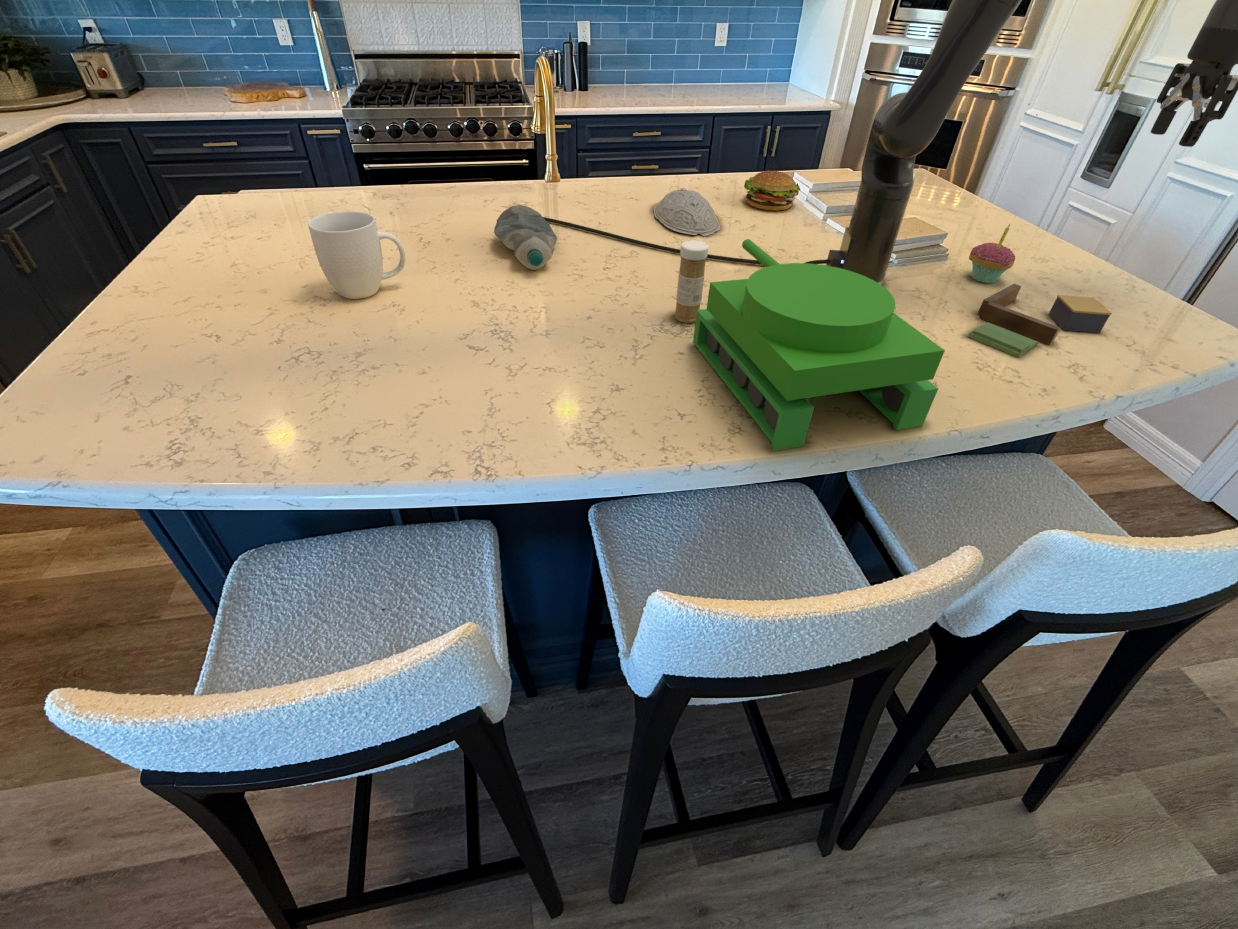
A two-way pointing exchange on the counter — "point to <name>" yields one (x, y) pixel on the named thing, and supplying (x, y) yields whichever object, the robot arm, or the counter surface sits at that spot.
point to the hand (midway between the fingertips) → (1170, 139)
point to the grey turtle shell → (687, 213)
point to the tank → (813, 346)
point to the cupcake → (991, 260)
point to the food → (771, 190)
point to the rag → (1002, 339)
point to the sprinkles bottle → (690, 280)
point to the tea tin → (1079, 313)
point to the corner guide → (1015, 317)
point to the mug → (352, 252)
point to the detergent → (526, 235)
